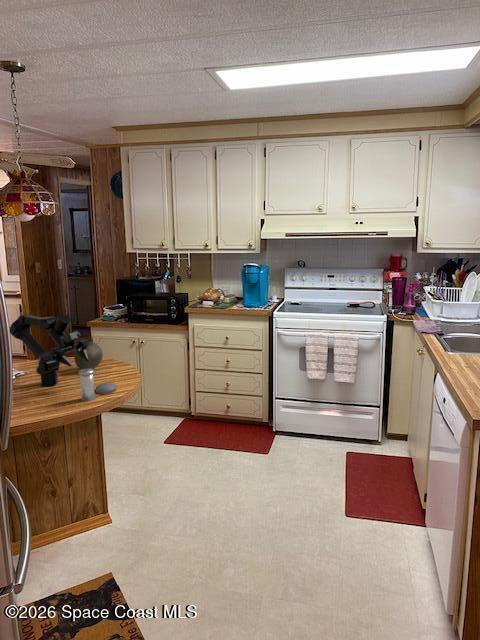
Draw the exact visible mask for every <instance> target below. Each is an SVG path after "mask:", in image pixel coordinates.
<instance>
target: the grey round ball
mask: <svg viewBox="0 0 480 640" xmlns="http://www.w3.org/2000/svg"><path fill="white" fill-rule="evenodd" d="M88 342H89V345H88V347H87V349H86V352H87V356H88V359H89V360H88V361H86V360H85V359H84V358H82V357H81V356H80V355H79V354H78V353H79V352H77V351H76V350H74V351H75V352H74V357H73V358H74V363H75V365H76V367H77V368H78V369H79V370H82V369H94V370H95V369H96V368H97V367H98V366H99V365H100V364H101V363H102V361H103V356H104V354H103V350H102V348H101V347H100V345H98V344H97V343H95V342H93V341H88Z"/></svg>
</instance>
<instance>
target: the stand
mask: <svg viewBox="0 0 480 640" xmlns="http://www.w3.org/2000/svg"><path fill="white" fill-rule="evenodd" d="M116 391H117V384H115V383H112V382H110V383H109V382H107V383H102V384H98V385H96V386H95V394H98V395H108V394H109V395H110V394H113V393H115V392H116Z"/></svg>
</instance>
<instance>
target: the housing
mask: <svg viewBox="0 0 480 640" xmlns="http://www.w3.org/2000/svg"><path fill="white" fill-rule="evenodd" d="M94 373H95V368H94V369H82V370H81V369H79V370H78V375H79V379H80V380H79V381H80V393H81V401H82V402H92V401H94V400H96V387H95V378H94V377H95V376H94Z"/></svg>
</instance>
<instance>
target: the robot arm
mask: <svg viewBox="0 0 480 640" xmlns="http://www.w3.org/2000/svg"><path fill="white" fill-rule="evenodd" d="M71 322H72V319H71V317H70V316H68V315H67V314H63V313H62V312H60V313H57V315H56V316H47V317H41V316H37V315H31V314H26V313H25V314H21V315H19V316H18V317H17V319H15V320H14V321H13V322H12V323H11V324H10V326H9V328H10V332H9V333H10V335H11V336H13V338H14V339H17V340H19V341H22V342H23V344H25V346H26V347H27V348H28V349H29V350H30V352H32V354H33V355H34V356H35V357H36V358H37V359H38V360H37V361H38V366H37V368H36V373H37V374H38V375H40V381H41V383H40V385H39V387H55V386H56V385H57V384H58V383H59V377H58V373H57V371H58V372H59V371H60V365H61V364H63V365H66V366H67V367H72V363H71V362H70V360H69V359H68V358H67V356H66V355H65V354H66V353H67V354H68V353H69V352H73V351H77V352H79V353H78V354H79V355H80V356H81V357H82V358H84V359H85V360H86V361H88V360H89V359H88V356H87V352H86V349H87V347H88V345H89V342H90V341H89V340H88V339H82V340H79V338H81V333H80V331H78V330H74V331H73V332H70V333H67V334H66V333H65V332H66V331H67V329H68V328H69V326H70V324H71ZM32 326H35V327H38V329H39V330H40V331H41V330H42V331H44V332H46V331H47V332H48V331H49V332H48V335H47V338H48V339H52V340H53V341H54V343H55V347H52V348H51V349H50V351H49V352H47V351H46V350H45V348H43V346H42V345H41V344H40V342H38V341H37V340H36V338H35V337H34V336H33V335H32V334H31V327H32ZM76 340H79V341H78V343H77V344H76ZM75 344H76V345H75ZM60 363H61V364H60Z"/></svg>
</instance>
